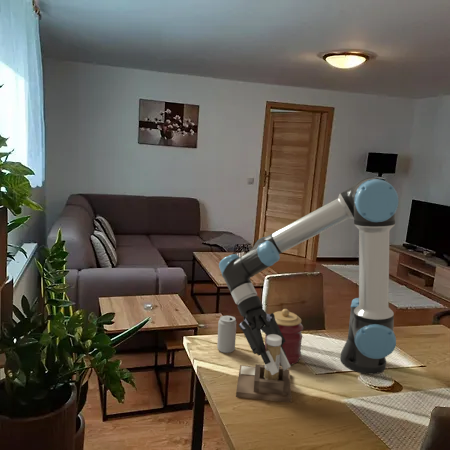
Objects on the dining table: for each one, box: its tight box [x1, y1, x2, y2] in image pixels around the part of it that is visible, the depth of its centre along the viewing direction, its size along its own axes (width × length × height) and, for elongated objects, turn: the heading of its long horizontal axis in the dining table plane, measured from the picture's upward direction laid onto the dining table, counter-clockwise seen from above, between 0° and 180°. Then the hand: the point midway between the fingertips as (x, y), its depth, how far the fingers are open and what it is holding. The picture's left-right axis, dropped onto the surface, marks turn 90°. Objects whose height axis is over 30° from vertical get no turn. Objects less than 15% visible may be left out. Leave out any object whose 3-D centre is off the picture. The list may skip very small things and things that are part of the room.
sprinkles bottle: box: [264, 334, 282, 380], centre depth 128 cm, size 5×5×13 cm
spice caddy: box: [235, 363, 293, 403], centre depth 131 cm, size 16×16×5 cm
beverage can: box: [216, 315, 237, 354], centre depth 153 cm, size 6×6×12 cm
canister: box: [264, 308, 304, 366], centre depth 149 cm, size 13×13×18 cm
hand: (281, 370), depth 126 cm, fingers open, 4 cm apart
